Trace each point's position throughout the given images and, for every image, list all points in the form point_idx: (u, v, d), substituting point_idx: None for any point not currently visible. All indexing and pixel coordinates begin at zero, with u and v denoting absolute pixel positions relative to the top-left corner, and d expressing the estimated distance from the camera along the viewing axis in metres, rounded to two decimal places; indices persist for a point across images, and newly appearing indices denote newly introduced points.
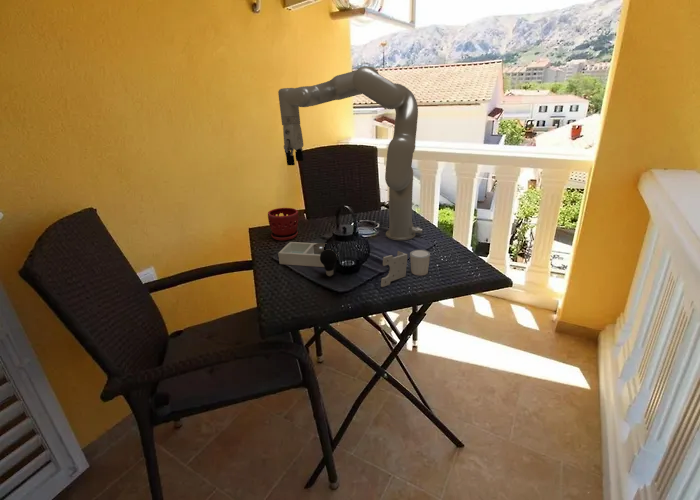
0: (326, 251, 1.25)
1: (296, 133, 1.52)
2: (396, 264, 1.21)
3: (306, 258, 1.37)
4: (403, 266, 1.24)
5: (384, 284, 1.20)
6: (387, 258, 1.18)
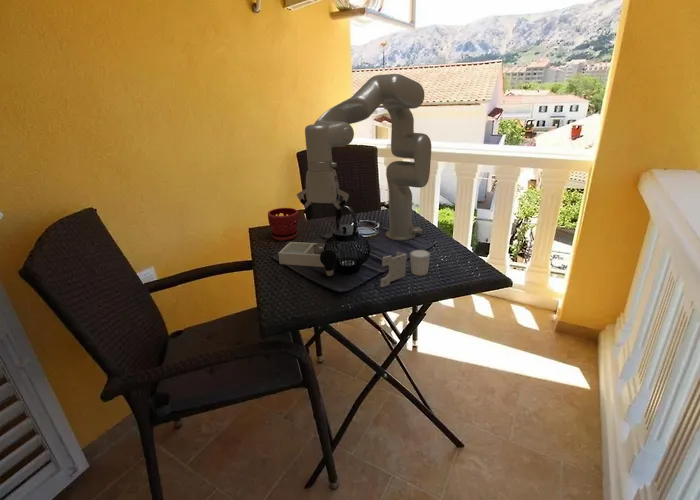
0: (326, 251, 1.25)
1: None
2: (395, 264, 1.21)
3: (306, 258, 1.37)
4: (402, 266, 1.24)
5: (383, 284, 1.20)
6: (386, 258, 1.17)
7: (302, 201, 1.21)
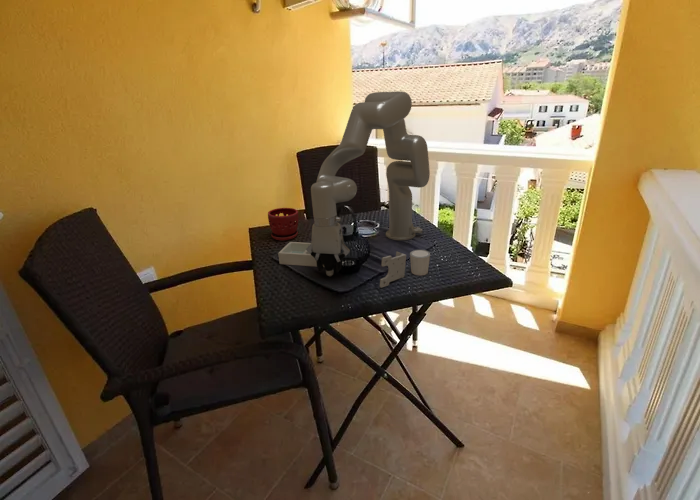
0: None
1: None
2: (394, 265, 1.21)
3: (306, 258, 1.37)
4: (402, 267, 1.24)
5: (383, 285, 1.20)
6: (386, 259, 1.17)
7: (313, 254, 1.27)
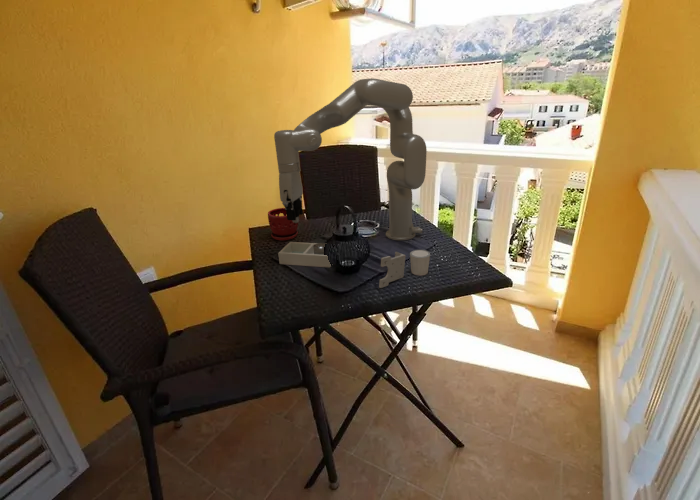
0: None
1: None
2: (394, 265, 1.21)
3: (306, 258, 1.37)
4: (401, 267, 1.24)
5: (382, 285, 1.20)
6: (385, 259, 1.17)
7: (289, 205, 1.29)
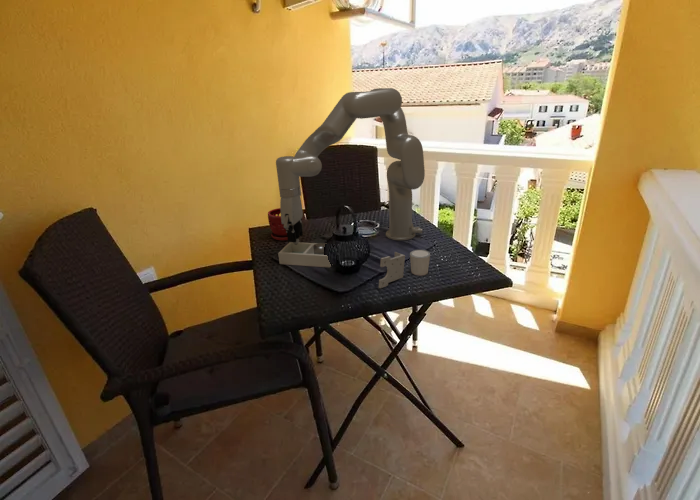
0: None
1: None
2: (393, 265, 1.21)
3: (306, 258, 1.37)
4: (401, 267, 1.24)
5: (382, 285, 1.19)
6: (385, 259, 1.17)
7: (290, 228, 1.34)
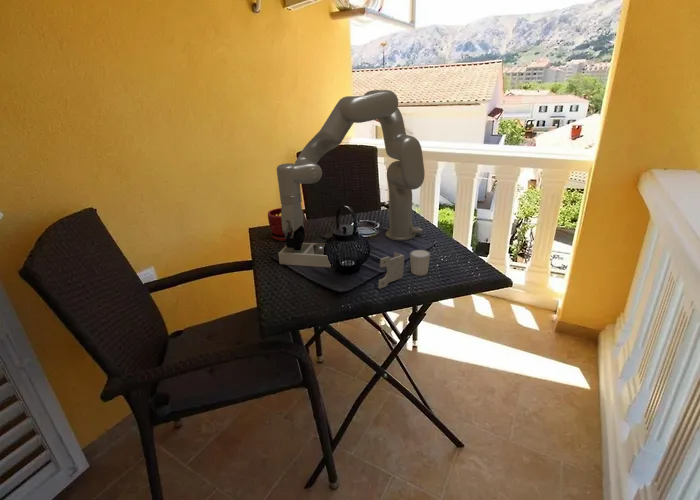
0: (297, 232, 1.40)
1: None
2: (393, 265, 1.21)
3: (306, 258, 1.37)
4: (400, 267, 1.24)
5: (381, 286, 1.19)
6: (384, 259, 1.17)
7: (289, 234, 1.33)
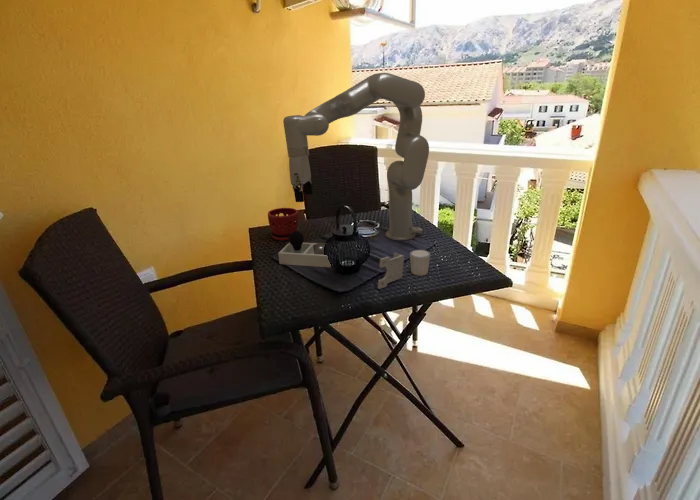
0: (297, 232, 1.40)
1: None
2: (392, 266, 1.20)
3: (306, 258, 1.37)
4: (400, 267, 1.23)
5: (381, 286, 1.19)
6: (384, 260, 1.17)
7: (298, 187, 1.33)
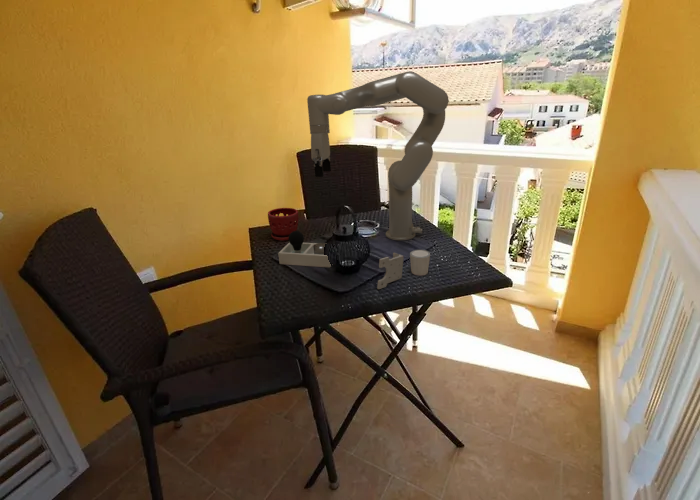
0: (297, 232, 1.40)
1: None
2: (392, 266, 1.20)
3: (306, 258, 1.37)
4: (399, 268, 1.23)
5: (380, 286, 1.19)
6: (383, 260, 1.16)
7: (318, 162, 1.42)
